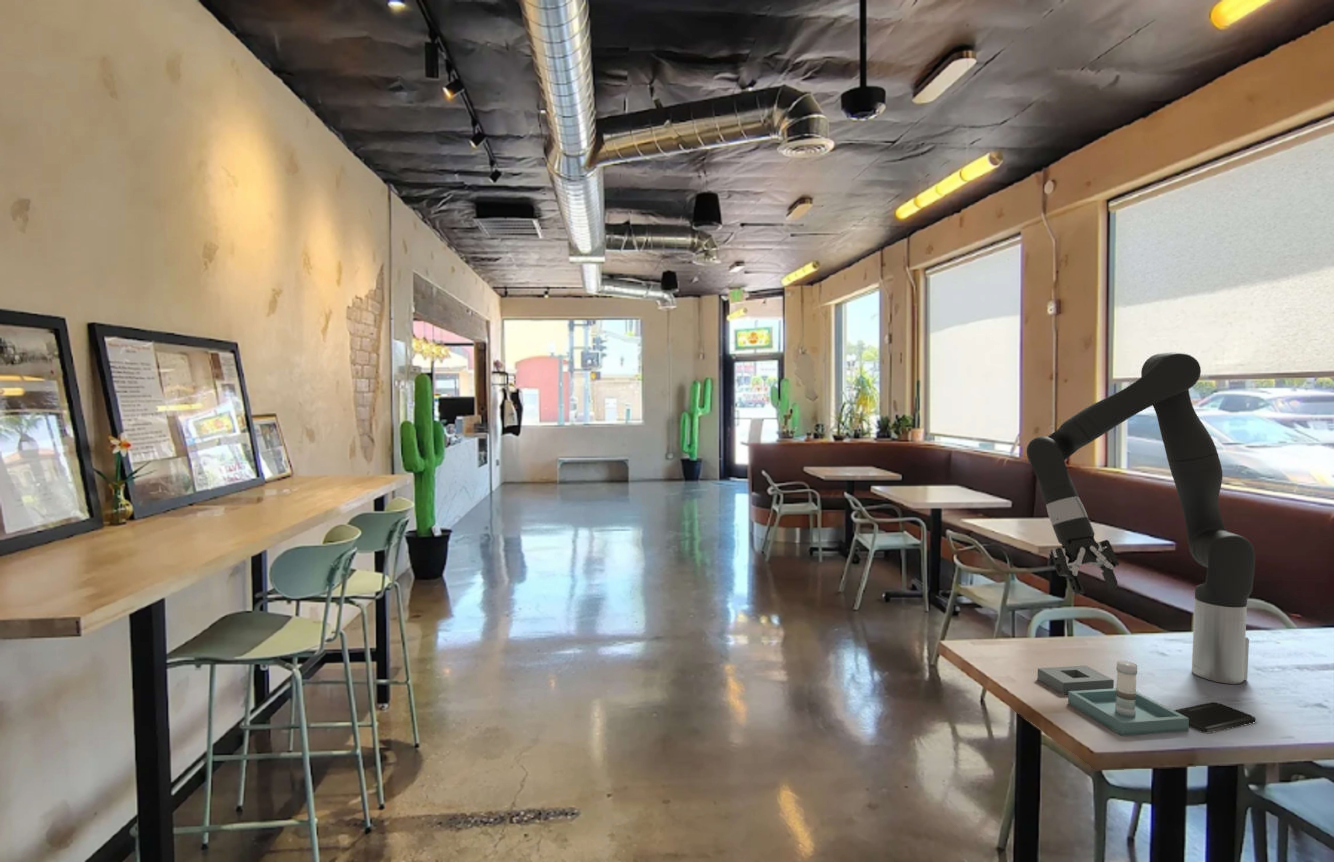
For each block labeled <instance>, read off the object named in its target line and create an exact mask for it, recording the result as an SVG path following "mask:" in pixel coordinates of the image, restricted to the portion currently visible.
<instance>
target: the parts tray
mask: <svg viewBox="0 0 1334 862" xmlns="http://www.w3.org/2000/svg"><path fill="white" fill-rule="evenodd" d="M1067 695H1068V698H1067V699H1068V700H1067V703H1068V704H1069V705H1071V706H1072V707H1074V708H1076V710H1079V711H1080V712H1082V713H1083V714H1085V715H1087V716H1088V717H1091V718H1092V719H1093V720H1095V721H1097V722H1099V723H1100V724H1102V725H1103V726H1105V727H1107V728H1108V729H1110V730H1112V731H1113V732H1115V733H1117V734H1118V735H1121V736H1122V737H1128V736H1142V735H1156V734H1157V735H1158V734H1167V733H1170V732H1171V733H1181V732H1183V733H1185V732H1189V728H1190V727H1189V718H1187V717H1185V716H1183V715H1181V714H1180V713H1178V712H1176V711H1174V710H1175V709H1171V708H1169V707H1168V706H1167V705H1164V704H1162V703H1160V702H1158V701H1156V700H1154V699H1152V698H1151V697H1149V696H1146V695H1144V694H1142V693H1141V692H1139V691H1137V690H1136V702H1135V707H1136V716H1135V717H1124V716H1121V715H1119V714H1117V713H1116V712H1115V703H1116V687H1115V688H1114V687H1113V689H1097V690H1081V691H1069V692H1068V694H1067Z"/></svg>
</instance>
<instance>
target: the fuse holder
mask: <svg viewBox="0 0 1334 862" xmlns="http://www.w3.org/2000/svg"><path fill="white" fill-rule="evenodd" d="M1037 680H1038V681H1039V682H1041V683H1043V684H1045V685H1046V686H1047V687H1050V688H1051V689H1053V690H1055V691H1057V692H1058V693H1060V694H1062V695H1068V692H1069V691H1081V690H1097V689H1113V688H1114V682H1115V681H1114V678H1111V677H1109V676H1107V675H1105V674H1103V673H1101V672H1099V671H1098V670H1096V669H1093V668H1091V667H1090V666H1088V665H1071V666H1054V667H1053V666H1052V667H1038V668H1037Z"/></svg>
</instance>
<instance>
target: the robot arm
mask: <svg viewBox="0 0 1334 862" xmlns="http://www.w3.org/2000/svg"><path fill="white" fill-rule="evenodd" d="M1201 368H1202V367H1201V364H1200V363H1199V361H1198V359H1196V358H1195V357H1194V356H1192V355H1190V354H1187V353H1185V352H1184V353H1183V352H1179V351H1178V352H1177V351H1175V352H1161V353H1160V352H1159V353H1156V354H1154V355H1151V356H1149V358H1147V359H1146V360H1145V362H1143V365H1142V367H1141V371H1140V373H1141V375H1140V376H1141V377H1140V378H1138V379H1137V380H1136V381H1135V382H1133V383H1132V384H1130V385H1128V386H1126V387H1124V388H1123V389H1121V390H1120V391H1118V392H1116V393H1113V394H1112V395H1109V396H1107V397H1105V398H1103V399H1101V400H1099V401H1097V402H1095V403H1093V404H1091V405H1089V406H1087V407H1086V408H1084V409H1083V410H1081V411H1079V412H1078V413H1076V414H1074V415H1073V416H1072V417H1070V418H1068V419H1067V420H1066V421H1064V422H1063V423H1061V425H1060V426H1059V428H1058V429H1056V430H1055V431H1054V432H1052V433H1051V434H1049V435H1048V436H1037V437H1036V438H1033V439H1032V440H1030V442H1029V443H1028V445H1027V446H1026V457H1027V460H1028V462H1029V464H1030V465H1031V467H1032V469H1033V472H1034V475H1035V477H1036V478H1037V481H1038V484H1039V491H1040V493H1041V496H1042V499H1043V502H1044V504H1045V507H1046V511H1047V515H1048V518H1049V521H1050V523H1051V526H1052V529H1053V530H1054V535H1055V536H1056V540H1057V542H1058V543H1059V544H1060V545H1061V547H1057V548H1053V549H1050V555H1051V558H1052V562H1053V564H1054V568H1055V571H1056V574H1057V575H1058V576H1059V577H1065V578H1067V581H1068V582H1069V585H1070V587H1071V590H1072V592H1074V593H1075V594H1076V595H1080V594H1085V591H1086V590H1085V588H1084V586H1083V584H1082V580H1081V578H1080V576H1079V575H1078V573H1079V570H1080V568H1081V566H1082V565H1084V564H1085V565H1088V564H1091V565H1092V566H1096V567H1097V568H1098V569H1099V570H1101V571H1102V572H1101V574H1102V576H1103V579H1104V582H1105V584H1106V587H1107V588H1108V589H1114V588H1117V587H1118V580H1117V578H1116V574H1115V573H1114V568H1116V567H1118V566H1119V565H1120V562H1119V560H1118V557H1117V555H1116V553H1115V551H1114V549H1113V547H1112V545H1111V542H1110V541H1109V540H1108V539H1105V540H1100V541H1098V542H1097V541H1096V539H1095V535H1096V534H1095V531H1094V528H1093V526H1092V524H1091V521H1090V518H1089V517H1088V514H1087V511H1086V509H1085V506H1084V505H1083V503H1082V500H1081V499H1080V497H1079V494H1078V492H1077V489H1076V487H1075V484H1074V482H1073V480H1072V479H1071V476H1070V475H1069V472H1068V468H1067V465H1066V460H1067V459H1068V458H1070V457H1071V456H1072V455H1074V454H1075V453H1077V451H1079V450H1080V449H1081V448H1083V447H1085V446H1087V445H1088V444H1091V443H1092V442H1094V441H1095V440H1097V439H1098V438H1100V437H1101V436H1104V435H1105V434H1106V433H1108V432H1109V431H1111V430H1112V429H1114V428H1116V427H1117V426H1119V425H1121V424H1122V423H1124V422H1125V421H1126V420H1128V419H1131V418H1132V417H1134V416H1135V415H1137V414H1139V413H1141V412H1142V411H1144V410H1146V409H1148V408H1149V407H1150V408H1151V407H1153V409H1154V412H1155V415H1156V418H1157V423H1158V427H1159V430H1160V431H1159V432H1160V435H1161V440H1162V443H1163V447H1164V451H1165V455H1166V459H1167V461H1168V466H1169V469H1170V473H1171V476H1172V479H1173V482H1174V485H1175V489H1176V492H1177V496H1178V500H1179V502H1180V506H1181V509H1182V513H1183V518H1184V524H1185V525H1184V526H1185V530H1186V536H1187V537H1186V538H1187V544H1188V548H1189V549H1188V550H1189V552H1190V554H1191V556H1192V558H1193V559H1194V560H1195V562H1197V563H1198V564H1199V565H1201V566H1202V567H1205V568H1206V569H1207V570H1206V577H1205V578H1206V579H1205V582H1204V583H1200V584H1198V585H1196V586H1195V589H1194V610H1193V611H1194V612H1193V614H1194V615H1193V633H1192V635H1193V636H1192V637H1193V638H1192V655H1191V657H1192V659H1191V672H1192V673H1193V674H1194V675H1196V676H1198V677H1199V678H1202V679H1206V680H1209V681H1212V682H1216V683H1223V684H1231V685H1232V684H1233V685H1235V684H1236V685H1237V684H1242V683H1243V682H1244V681H1247V680H1248V675H1249V674H1248V672H1249V650H1250V648H1249V647H1250V639H1249V637H1247V636H1246V633H1247V632H1246V631H1247V612H1248V611H1247V610H1248V607H1247V606H1248V599H1249V597H1250V596H1251V594H1252V592H1253V587H1254V577H1255V570H1256V552H1255V549H1254V546H1253V545H1252V542H1251V541H1249V539H1247V538H1245V536H1242V535H1239V534H1236V533H1232V532H1230V531H1228V530H1227V528H1226V526H1225V524H1224V521H1223V518H1222V515H1221V511H1220V506H1219V505H1220V504H1219V498H1220V494H1221V488H1222V483H1223V477H1224V476H1223V467H1222V464H1221V460H1220V457H1219V453H1218V449H1217V447H1216V445H1215V442H1214V440H1213V439H1212V436H1211V434H1210V432H1209V431H1208V430H1207V428H1206V427H1205V425H1204V423H1203V422H1202V421H1201V419H1200V417H1199V416H1198V415H1197V412H1196V411H1195V409H1194V406H1193V403H1192V398H1191V395H1190V391H1189V390H1190V389H1191V388H1193V387H1194V386H1195V385H1196V384H1197V382H1198V381H1199V379H1200V377H1201V373H1202V371H1201ZM1066 557H1067V559H1066Z"/></svg>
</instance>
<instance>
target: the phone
mask: <svg viewBox="0 0 1334 862" xmlns="http://www.w3.org/2000/svg"><path fill="white" fill-rule="evenodd" d="M1173 710H1174V711H1176V712H1178V713H1180V714H1181V715H1183V716H1185V717H1187V718H1189V727H1188V728H1191V729H1193V730H1196V731H1198V732H1200V731H1201V732H1200V733H1204V732H1211V733H1214V732H1213V731H1216V732H1220V731H1223V730H1224V729H1225V730H1229V729H1233V728H1238V727H1242V726H1241V725H1243V726H1245V725H1244V724H1247V725H1250V724H1249V723H1252V724H1254V723H1253V722H1255V723H1256V717H1255V716H1253V715H1251V714H1248V713H1246V712H1244V711H1241V710H1239V709H1238V710H1237V709H1235V708H1233V707H1230V706H1228V705H1225V704H1223V703H1220V702H1208V703H1203V704H1197V705H1193V706H1192V705H1191V706H1188V707H1187V706H1186V707H1183V708H1178V709H1173ZM1232 727H1233V728H1232ZM1228 728H1229V729H1228ZM1219 730H1220V731H1219ZM1225 730H1224V731H1225Z"/></svg>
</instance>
